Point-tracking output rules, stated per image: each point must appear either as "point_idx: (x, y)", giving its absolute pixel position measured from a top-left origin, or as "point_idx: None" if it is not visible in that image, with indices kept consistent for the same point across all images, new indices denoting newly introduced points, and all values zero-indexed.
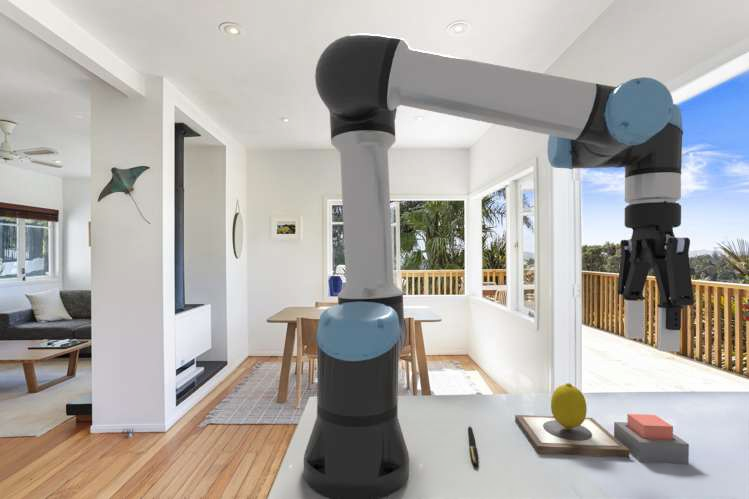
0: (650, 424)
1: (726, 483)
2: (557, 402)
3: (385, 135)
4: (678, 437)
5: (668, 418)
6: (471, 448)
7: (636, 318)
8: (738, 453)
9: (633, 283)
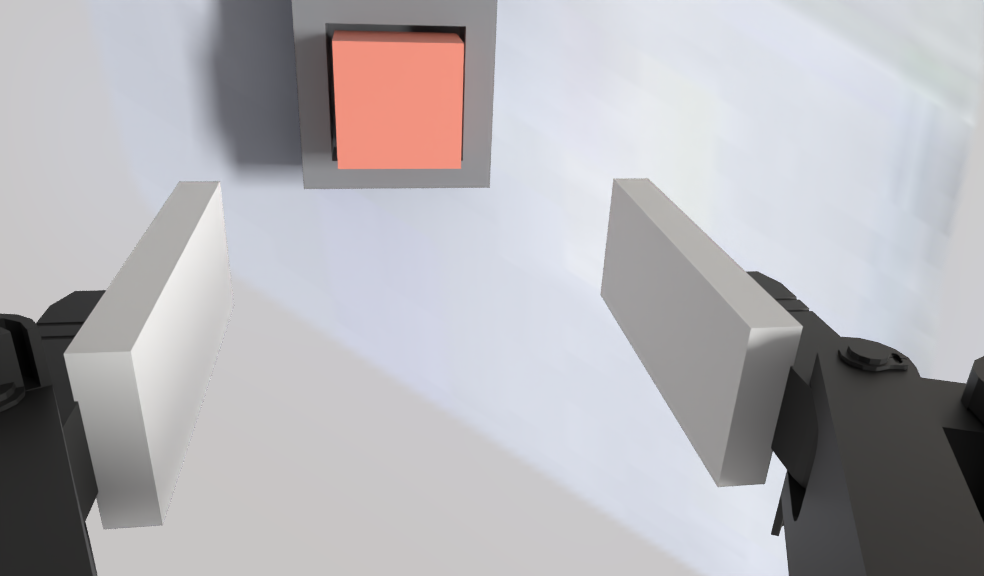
0: (346, 79)
1: None
2: None
3: None
4: (361, 187)
5: None
6: None
7: (659, 315)
8: (409, 376)
9: (832, 522)
